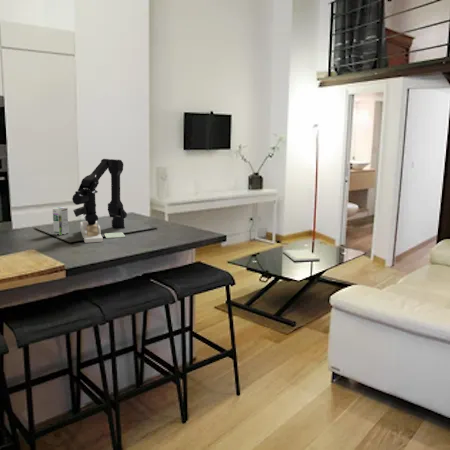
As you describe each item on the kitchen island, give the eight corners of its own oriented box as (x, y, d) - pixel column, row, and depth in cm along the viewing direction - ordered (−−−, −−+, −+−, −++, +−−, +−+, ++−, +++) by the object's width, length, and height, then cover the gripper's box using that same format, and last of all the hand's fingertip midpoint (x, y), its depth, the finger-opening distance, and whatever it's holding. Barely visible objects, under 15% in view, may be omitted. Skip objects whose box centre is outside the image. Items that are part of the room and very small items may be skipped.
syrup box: (53, 234, 255) (51, 208, 252) (61, 232, 260) (60, 206, 257) (60, 235, 252) (59, 209, 249) (69, 233, 257) (67, 207, 254)
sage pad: (122, 233, 260) (122, 232, 260) (125, 237, 251) (125, 236, 251) (104, 234, 256) (104, 233, 256) (106, 238, 247) (106, 237, 247)
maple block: (96, 233, 250) (96, 224, 249) (97, 235, 245) (97, 226, 244) (87, 233, 248) (86, 224, 247) (87, 236, 244) (87, 226, 242)
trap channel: (97, 230, 266) (96, 220, 264) (102, 241, 241) (102, 231, 240) (80, 231, 262) (80, 221, 261) (84, 242, 238) (84, 232, 237)
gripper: (73, 199, 253) (74, 227, 256) (75, 205, 236) (76, 235, 239) (94, 199, 257) (95, 226, 260) (97, 204, 240) (98, 234, 243)
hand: (91, 230), depth 251 cm, fingers closed
